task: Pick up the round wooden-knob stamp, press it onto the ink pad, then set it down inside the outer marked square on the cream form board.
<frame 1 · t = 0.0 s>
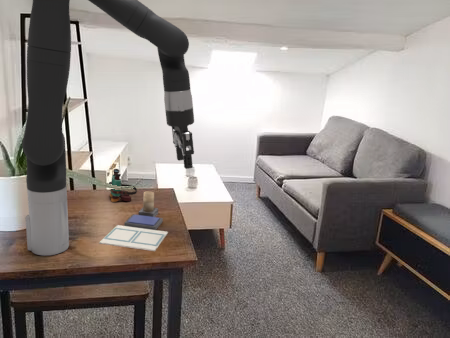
hand: (184, 163, 111), 22 cm above the table, tool pointing down, fingers open, 8 cm apart
ink pad: (143, 224, 124), on the table
binoculars: (122, 199, 144), on the table
form board: (135, 237, 114), on the table
stamp: (148, 215, 130), on the table
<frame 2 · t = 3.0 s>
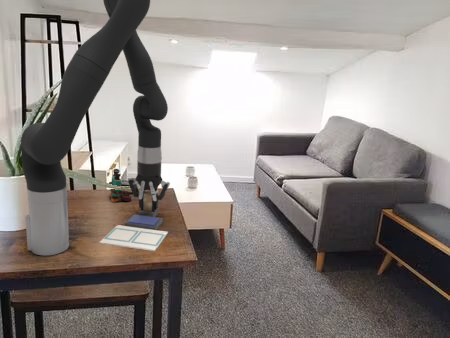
hand: (148, 209, 130), 2 cm above the table, tool pointing down, fingers closed on stamp, 3 cm apart
stamp: (148, 215, 130), on the table, touching gripper
everything else where it was.
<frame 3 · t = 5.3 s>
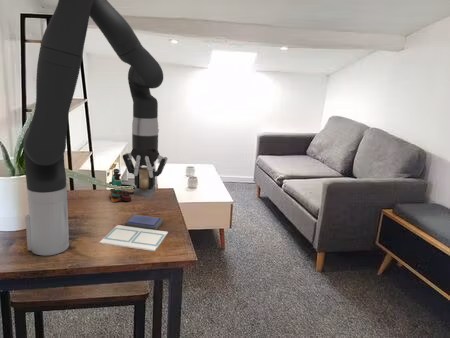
hand: (144, 187, 120), 12 cm above the table, tool pointing down, fingers closed on stamp, 3 cm apart
stamp: (144, 193, 121), point 10 cm above the table, touching gripper
everything else where it was.
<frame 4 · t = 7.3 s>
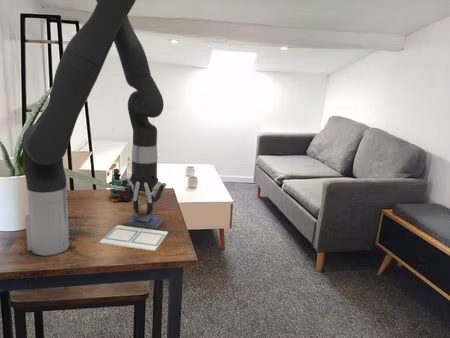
hand: (143, 212, 123), 4 cm above the table, tool pointing down, fingers closed on stamp, 3 cm apart
stamp: (143, 218, 123), point 2 cm above the table, touching gripper
everything else where it was.
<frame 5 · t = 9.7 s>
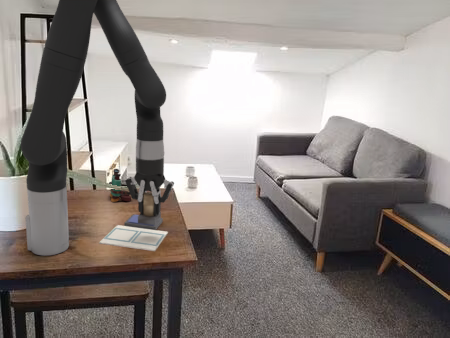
hand: (149, 213, 111), 8 cm above the table, tool pointing down, fingers closed on stamp, 3 cm apart
stamp: (149, 220, 112), point 6 cm above the table, touching gripper
everything else where it was.
when the fingers open (3 cm above the table, at t = 11.6 s): stamp stays where it is, resting on form board.
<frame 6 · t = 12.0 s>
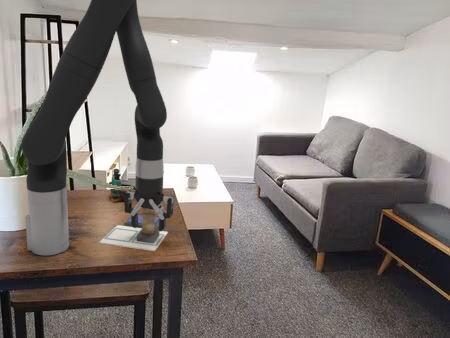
hand: (148, 228, 112), 4 cm above the table, tool pointing down, fingers open, 7 cm apart
stamp: (148, 238, 113), resting on form board
everything else where it was.
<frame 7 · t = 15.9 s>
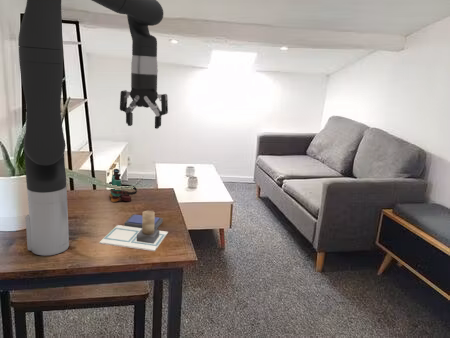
hand: (143, 126, 119), 30 cm above the table, tool pointing down, fingers open, 8 cm apart
nothing on the table moved.
at the end: stamp 0.0 cm from the target spot on the form board, point 0.4 cm above the form board's base; stamp tilted 0°; the gripper is holding nothing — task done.
